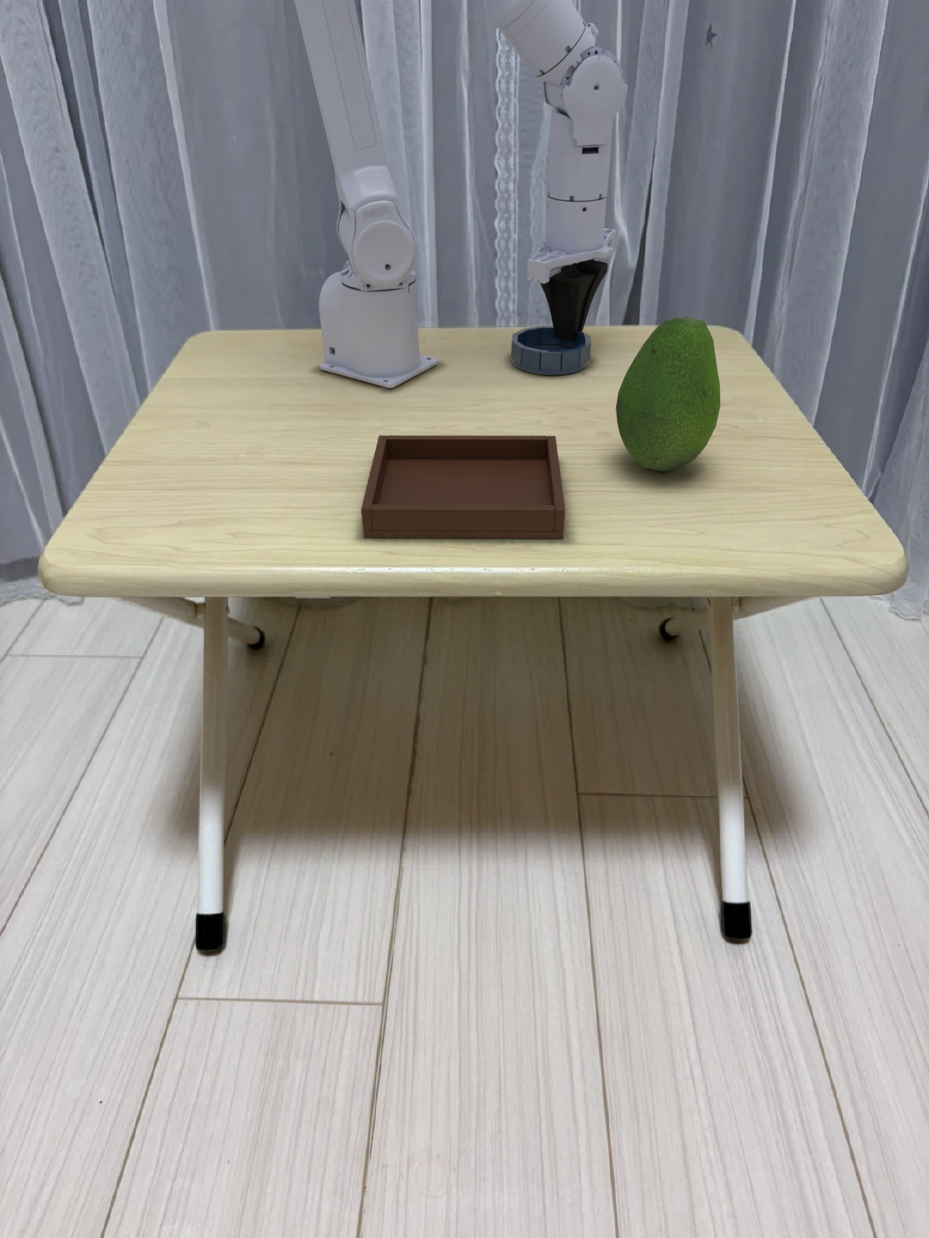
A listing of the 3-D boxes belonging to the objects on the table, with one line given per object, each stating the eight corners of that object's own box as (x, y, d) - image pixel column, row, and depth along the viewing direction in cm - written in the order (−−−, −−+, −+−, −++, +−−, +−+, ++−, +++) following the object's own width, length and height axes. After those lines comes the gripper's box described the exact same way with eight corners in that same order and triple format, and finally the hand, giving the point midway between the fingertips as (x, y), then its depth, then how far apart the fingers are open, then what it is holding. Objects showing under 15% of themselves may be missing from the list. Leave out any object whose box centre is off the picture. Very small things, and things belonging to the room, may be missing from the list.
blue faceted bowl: (496, 364, 88) (496, 342, 87) (536, 342, 94) (537, 321, 92) (564, 381, 85) (566, 358, 83) (602, 357, 90) (604, 335, 89)
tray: (363, 537, 62) (360, 508, 61) (380, 461, 72) (378, 435, 70) (563, 538, 62) (565, 509, 61) (554, 462, 71) (555, 435, 70)
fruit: (590, 467, 71) (603, 320, 63) (642, 434, 75) (659, 294, 68) (677, 498, 66) (701, 345, 59) (726, 462, 71) (754, 315, 64)
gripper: (577, 215, 76) (567, 365, 84) (647, 186, 85) (633, 324, 94) (509, 206, 79) (506, 351, 87) (584, 179, 89) (575, 312, 97)
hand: (568, 336), depth 91 cm, fingers closed on blue faceted bowl, 1 cm apart
